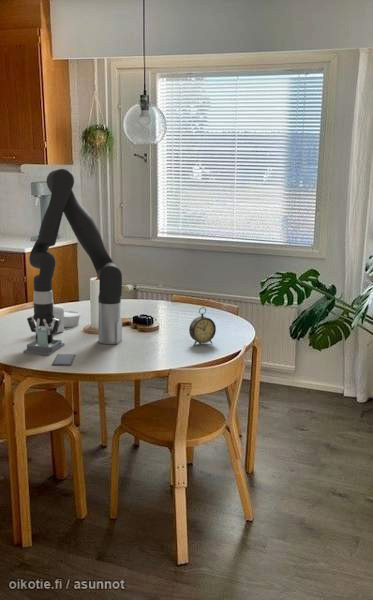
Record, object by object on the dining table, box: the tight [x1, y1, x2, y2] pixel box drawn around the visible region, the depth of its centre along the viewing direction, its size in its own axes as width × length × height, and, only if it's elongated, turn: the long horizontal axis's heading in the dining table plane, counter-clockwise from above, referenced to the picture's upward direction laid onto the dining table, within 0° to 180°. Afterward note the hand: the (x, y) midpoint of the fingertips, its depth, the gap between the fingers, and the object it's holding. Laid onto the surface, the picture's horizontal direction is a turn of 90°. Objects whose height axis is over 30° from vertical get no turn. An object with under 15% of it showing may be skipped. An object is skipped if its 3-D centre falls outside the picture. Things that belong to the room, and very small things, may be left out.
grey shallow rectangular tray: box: [22, 339, 66, 356], centre depth 236 cm, size 11×14×3 cm
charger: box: [37, 328, 51, 347], centre depth 236 cm, size 4×4×6 cm
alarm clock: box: [188, 306, 217, 347], centre depth 248 cm, size 11×5×16 cm, turn 117°
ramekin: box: [64, 310, 81, 328], centre depth 271 cm, size 11×11×5 cm
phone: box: [51, 353, 76, 367], centre depth 224 cm, size 7×12×1 cm, turn 2°
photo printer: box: [41, 304, 65, 334], centre depth 258 cm, size 10×4×12 cm, turn 123°
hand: (44, 342), depth 236 cm, fingers closed on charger, 3 cm apart
